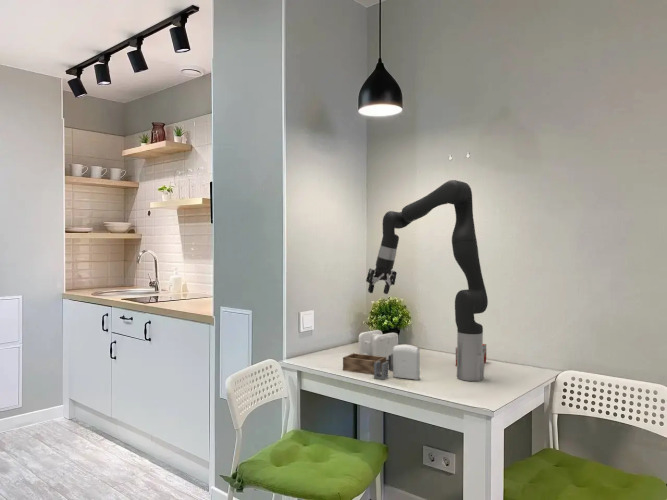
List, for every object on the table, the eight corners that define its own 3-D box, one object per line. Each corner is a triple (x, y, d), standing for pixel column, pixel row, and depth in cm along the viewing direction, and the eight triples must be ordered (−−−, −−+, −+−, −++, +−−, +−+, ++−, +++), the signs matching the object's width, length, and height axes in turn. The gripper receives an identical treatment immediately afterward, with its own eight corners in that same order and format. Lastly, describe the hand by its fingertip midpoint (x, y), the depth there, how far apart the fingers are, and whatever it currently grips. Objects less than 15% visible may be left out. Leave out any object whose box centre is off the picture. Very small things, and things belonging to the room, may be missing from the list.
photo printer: (391, 377, 199) (391, 344, 199) (395, 374, 203) (395, 342, 203) (417, 380, 195) (417, 347, 194) (421, 378, 198) (421, 345, 198)
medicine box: (468, 359, 230) (468, 341, 230) (486, 362, 225) (486, 343, 225) (454, 366, 217) (455, 347, 217) (474, 369, 213) (474, 349, 213)
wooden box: (386, 369, 211) (386, 357, 211) (376, 374, 203) (377, 361, 203) (352, 365, 218) (353, 353, 217) (342, 370, 210) (343, 357, 210)
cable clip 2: (401, 369, 211) (401, 354, 211) (397, 371, 208) (397, 356, 208) (392, 368, 213) (392, 353, 213) (388, 370, 210) (388, 355, 210)
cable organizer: (380, 354, 238) (380, 329, 238) (399, 358, 230) (399, 332, 230) (357, 360, 227) (358, 333, 227) (376, 364, 220) (376, 336, 220)
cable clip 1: (388, 377, 199) (388, 362, 199) (383, 379, 195) (384, 364, 195) (378, 376, 201) (378, 360, 201) (373, 378, 197) (374, 362, 197)
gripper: (379, 258, 221) (370, 295, 224) (404, 260, 230) (395, 296, 232) (368, 253, 227) (360, 289, 230) (393, 256, 236) (385, 291, 238)
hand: (378, 293), depth 231 cm, fingers open, 8 cm apart
